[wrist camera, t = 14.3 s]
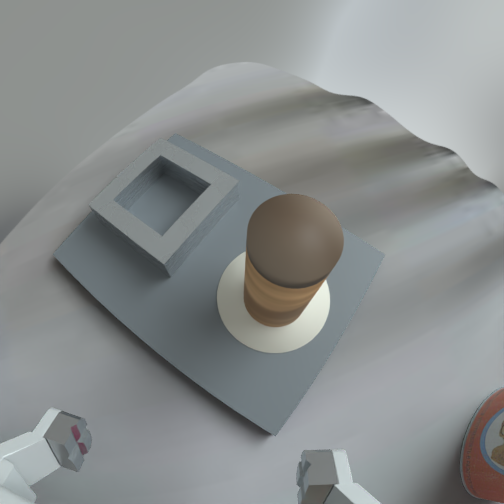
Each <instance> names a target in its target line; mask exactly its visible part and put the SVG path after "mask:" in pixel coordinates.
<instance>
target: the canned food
mask: <svg viewBox="0 0 504 504" xmlns="http://www.w3.org/2000/svg"><path fill="white" fill-rule="evenodd" d="M460 473H461V479H462V482H463V485H464V487H465V489H466V491H467V492H468V493H469V494H470V495H471V496H473V497H475V498H478V499H487V500H491V501H496V502H501V503H504V387H502V388H499V389H497V390H496V391H494V392H493V393H491V394H490V395H489V396H488V397H487V398H486V399H485V400H484V401H483V402H482V404H481V405H480V406H479V408H478V409H477V411H476V412H475V414H474V416H473V418H472V420H471V422H470V424H469V426H468V429H467V432H466V434H465V438H464V441H463V445H462V450H461V457H460Z"/></svg>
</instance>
